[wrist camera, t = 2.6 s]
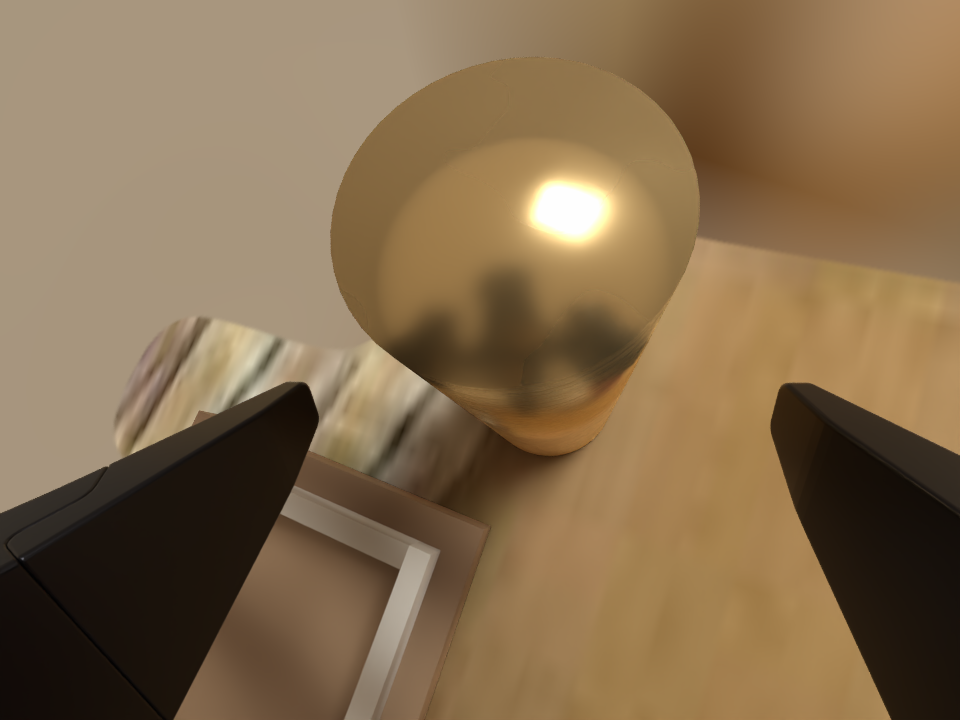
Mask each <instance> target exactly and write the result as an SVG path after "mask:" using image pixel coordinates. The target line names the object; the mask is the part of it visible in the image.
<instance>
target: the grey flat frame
mask: <svg viewBox="0 0 960 720" xmlns="http://www.w3.org/2000/svg"><path fill="white" fill-rule="evenodd" d="M214 415H217V414H213V413H208V412H204V411H199V412H198V414H197V416H196V418H195V420H194V422H193V424H192V426H193V425H195V424H197V423H200V422H202V421H204V420H206V419H208V418H210V417H212V416H214ZM490 528H491V526H489V525H486V524H484V523H482V522H479V521H477V520H474V519H472V518H470V517H467V516H465V515H462V514H460V513H458V512H455V511H453V510H450V509H448V508H445V507H443V506H441V505H438V504H436V503H433V502H431V501H429V500H426V499H424V498H421V497H419V496H417V495H414V494H412V493H409V492H407V491H404V490H402V489H400V488H397V487H395V486H392V485H390V484H388V483H385V482H383V481H380V480H378V479H376V478H373V477H371V476H368V475H366V474H363V473H361V472H359V471H356V470H354V469H351V468H349V467H347V466H344V465H342V464H339V463H337V462H335V461H332V460H330V459H327V458H325V457H323V456H320V455H318V454H315V453H313V452H310V451H308V452H307V455H306V457H305V460H304V462H303V465H302V467H301V470H300V473H299V475H298V478H297V480H296V482H295V485H294V487H293V489H292V491H291V493H290V495H289V497H288V499H287V501H286V503H285V505H284V507H283V509H282V511H281V513H280V515H279V517H278V518H277V520H276V522H275V524H274V526H273V528H272V530H271V532H270V534H269V536H268V538H267V540H266V542H265V544H264V546H263V548H262V549H261V551H260V553H259V555H258V557H257V559H256V561H255V563H254V565H253V567H252V569H251V571H250V573H249V575H248V577H247V579H246V581H245V582H244V584H243V586H242V588H241V590H240V592H239V594H238V596H237V598H236V600H235V602H234V604H233V606H232V608H231V610H230V612H229V613H228V615H227V617H226V619H225V621H224V623H223V625H222V627H221V629H220V631H219V633H218V635H217V637H216V639H215V641H214V643H213V644H212V646H211V648H210V650H209V652H208V654H207V656H206V658H205V660H204V662H203V664H202V666H201V668H200V670H199V672H198V674H197V675H196V677H195V679H194V681H193V683H192V685H191V687H190V689H189V691H188V693H187V695H186V697H185V699H184V701H183V703H182V705H181V707H180V708H179V710H178V712H177V714H176V716H175V718H174V720H425V717H426V714H427V711H428V708H429V705H430V702H431V700H432V697H433V694H434V691H435V688H436V685H437V682H438V679H439V676H440V673H441V670H442V668H443V665H444V662H445V659H446V656H447V653H448V650H449V647H450V644H451V641H452V638H453V636H454V633H455V630H456V627H457V624H458V621H459V618H460V615H461V612H462V609H463V607H464V604H465V601H466V598H467V595H468V592H469V589H470V586H471V583H472V580H473V577H474V575H475V572H476V569H477V566H478V563H479V560H480V557H481V554H482V551H483V548H484V545H485V543H486V540H487V537H488V534H489V531H490Z"/></svg>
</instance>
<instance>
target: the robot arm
mask: <svg viewBox="0 0 960 720" xmlns="http://www.w3.org/2000/svg"><path fill="white" fill-rule="evenodd" d="M318 422H319V415H318V411H317V408H316V405H315V402H314V399H313V396H312V393H311V391H310V388H309V386H308V385H307V384H306V383H304V382H285V383H283V384H281V385H279V386H277V387H274V388H272V389H270V390H268V391H266V392H264V393H262V394H259V395H257V396H255V397H253V398H251V399H249V400H247V401H244V402H242V403H240V404H238V405H236V406H234V407H232V408H229V409H227V410H225V411H223V412H221V413H219V414H217V415H214V416H212V417H210V418H208V419H206V420H204V421H202V422H200V423H197V424H195V425H193V426H191V427H189V428H187V429H185V430H182V431H180V432H178V433H176V434H174V435H172V436H170V437H167V438H165V439H163V440H161V441H159V442H157V443H155V444H152V445H150V446H148V447H146V448H144V449H142V450H140V451H137V452H135V453H133V454H131V455H129V456H127V457H125V458H123V459H120V460H118V461H116V462H114V463H112V464H110V465H109V467H103V468H101V469H99V470H97V471H95V472H93V473H90V474H88V475H86V476H84V477H82V478H79V479H77V480H75V481H73V482H71V483H68V484H66V485H64V486H62V487H60V488H58V489H55V490H53V491H51V492H49V493H46V494H44V495H42V496H40V497H37V498H35V499H33V500H30V501H28V502H26V503H23V504H21V505H19V506H17V507H14V508H12V509H10V510H7V511H5V512H2V513H0V720H174V718H175V716H176V714H177V712H178V710H179V708H180V707H181V705H182V703H183V701H184V699H185V697H186V695H187V693H188V691H189V689H190V687H191V685H192V683H193V681H194V679H195V677H196V675H197V674H198V672H199V670H200V668H201V666H202V664H203V662H204V660H205V658H206V656H207V654H208V652H209V650H210V648H211V646H212V644H213V643H214V641H215V639H216V637H217V635H218V633H219V631H220V629H221V627H222V625H223V623H224V621H225V619H226V617H227V615H228V613H229V612H230V610H231V608H232V606H233V604H234V602H235V600H236V598H237V596H238V594H239V592H240V590H241V588H242V586H243V584H244V582H245V581H246V579H247V577H248V575H249V573H250V571H251V569H252V567H253V565H254V563H255V561H256V559H257V557H258V555H259V553H260V551H261V549H262V548H263V546H264V544H265V542H266V540H267V538H268V536H269V534H270V532H271V530H272V528H273V526H274V524H275V522H276V520H277V518H278V517H279V515H280V513H281V511H282V509H283V507H284V505H285V503H286V501H287V499H288V497H289V495H290V493H291V491H292V489H293V487H294V485H295V482H296V480H297V478H298V475H299V473H300V470H301V467H302V465H303V462H304V460H305V457H306V455H307V452H308V449H309V447H310V444H311V442H312V439H313V437H314V434H315V431H316V429H317V426H318ZM770 427H771V435H772V438H773V441H774V444H775V447H776V451H777V454H778V457H779V460H780V463H781V466H782V470H783V473H784V476H785V479H786V482H787V486H788V489H789V492H790V495H791V498H792V501H793V504H794V507H795V510H796V512H797V514H798V517H799V519H800V521H801V524H802V526H803V528H804V530H805V533H806V535H807V537H808V539H809V541H810V543H811V546H812V548H813V550H814V552H815V554H816V557H817V559H818V561H819V563H820V565H821V567H822V570H823V572H824V574H825V576H826V578H827V581H828V583H829V585H830V587H831V589H832V591H833V594H834V596H835V598H836V600H837V602H838V605H839V607H840V609H841V611H842V613H843V615H844V618H845V620H846V622H847V624H848V626H849V628H850V631H851V633H852V635H853V637H854V639H855V642H856V644H857V646H858V648H859V650H860V652H861V655H862V657H863V659H864V661H865V663H866V666H867V668H868V670H869V672H870V674H871V676H872V679H873V681H874V683H875V685H876V687H877V690H878V692H879V694H880V696H881V698H882V700H883V703H884V705H885V707H886V709H887V711H888V714H889V716H890V718H891V720H960V455H958V454H956V453H954V452H952V451H950V450H948V449H946V448H943V447H941V446H939V445H937V444H935V443H933V442H931V441H929V440H927V439H925V438H923V437H921V436H919V435H917V434H915V433H913V432H910V431H908V430H906V429H904V428H902V427H900V426H898V425H896V424H894V423H892V422H890V421H888V420H886V419H884V418H882V417H879V416H877V415H875V414H873V413H871V412H869V411H867V410H865V409H863V408H861V407H859V406H857V405H855V404H853V403H851V402H849V401H846V400H844V399H842V398H840V397H838V396H836V395H834V394H832V393H830V392H828V391H826V390H824V389H822V388H820V387H818V386H816V385H813V384H811V383H785V384H783V385H782V386H781V387H780V389H779V392H778V395H777V399H776V403H775V407H774V411H773V415H772V419H771V425H770Z"/></svg>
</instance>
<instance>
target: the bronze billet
mask: <svg viewBox="0 0 960 720" xmlns="http://www.w3.org/2000/svg"><path fill="white" fill-rule="evenodd" d="M699 207H700V198H699V189H698V180H697V175H696V172H695V168H694V165H693V161H692V158H691V155H690V153H689V151H688V148H687V146H686V144H685V142H684V140H683V138H682V136H681V134H680V133H679V131H678V130H677V128H676V127H675V125H674V124H673V122H672V121H671V119H670V118H669V117H668V116H667V115H666V114H665V112H664V111H663V110H662V109H661V108H660V107H659V106H658V105H657V104H656V103H655V102H654V101H653V100H652V99H650V98H649V97H648V96H647V95H646V94H644V93H643V92H642V91H641V90H639V89H638V88H637V87H635V86H633V85H631V84H630V83H628V82H627V81H625V80H624V79H622V78H620V77H618V76H616V75H614V74H611V73H609V72H607V71H605V70H602V69H600V68H597V67H593V66H590V65H587V64H584V63H580V62H575V61H570V60H564V59H558V58H544V57H525V58H510V59H504V60H497V61H491V62H487V63H483V64H479V65H476V66H472V67H469V68H466V69H463V70H460V71H458V72H455V73H452V74H450V75H448V76H446V77H444V78H442V79H439V80H437V81H435V82H433V83H431V84H430V85H428V86H426V87H425V88H423V89H421V90H420V91H418V92H416V93H415V94H413V95H412V96H410V97H409V98H408V99H407V100H405V101H404V102H403V103H401V104H400V105H399V106H397V107H396V108H395V109H394V110H393V111H392V112H391V113H390V114H389V115H387V116H386V117H385V118H384V119H383V120H382V121H381V122H380V123H379V124H378V125H377V127H376V128H375V129H374V130H373V131H372V132H371V133H370V135H369V136H368V137H367V138H366V140H365V141H364V143H363V144H362V145H361V147H360V148H359V150H358V151H357V153H356V154H355V156H354V158H353V159H352V161H351V163H350V165H349V167H348V169H347V171H346V173H345V175H344V177H343V180H342V183H341V185H340V188H339V190H338V193H337V197H336V201H335V206H334V209H333V215H332V224H331V232H330V233H331V256H332V262H333V267H334V273H335V276H336V279H337V283H338V286H339V289H340V292H341V294H342V296H343V298H344V300H345V302H346V304H347V306H348V308H349V310H350V312H351V313H352V315H353V316H354V318H355V319H356V321H357V322H358V323H359V325H360V326H361V328H362V329H363V330H364V331H365V332H366V333H367V334H368V335H369V336H370V337H371V338H372V339H373V341H374V342H375V343H376V344H378V345H379V346H380V347H381V348H383V349H384V350H385V351H386V352H388V353H389V354H390V355H391V356H393V357H394V358H395V359H397V360H398V361H399V362H401V363H402V364H403V365H405V366H406V367H408V368H409V369H410V370H412V371H413V372H414V373H416V374H417V375H419V376H420V377H421V378H423V379H424V380H425V381H427V382H428V383H429V384H431V385H432V386H434V387H435V388H436V389H438V390H439V391H440V392H442V393H443V394H444V395H446V396H447V397H449V398H450V399H451V400H453V401H454V402H455V403H457V404H458V405H460V406H461V407H462V408H464V409H465V410H466V411H468V412H469V413H470V414H472V415H473V416H475V417H476V418H477V419H479V420H480V421H481V422H483V423H484V424H486V425H487V426H488V427H490V428H491V429H492V430H494V431H495V432H496V433H498V434H499V435H501V436H502V437H503V438H505V439H506V440H507V441H509V442H510V443H511V444H513V445H514V446H516V447H518V448H519V449H521V450H524V451H526V452H529V453H532V454H536V455H542V456H557V455H564V454H567V453H571V452H573V451H576V450H578V449H580V448H582V447H583V446H585V445H587V444H588V443H589V442H590V441H592V440H593V439H594V438H595V437H596V436H597V435H598V434H599V432H600V431H601V430H602V428H603V427H604V425H605V423H606V421H607V420H608V418H609V416H610V414H611V412H612V410H613V408H614V406H615V404H616V402H617V400H618V399H619V397H620V395H621V393H622V391H623V389H624V387H625V385H626V383H627V381H628V379H629V377H630V376H631V374H632V372H633V370H634V368H635V366H636V364H637V362H638V360H639V358H640V356H641V355H642V353H643V351H644V349H645V347H646V345H647V343H648V341H649V339H650V337H651V335H652V333H653V332H654V330H655V328H656V326H657V324H658V322H659V320H660V318H661V316H662V314H663V312H664V311H665V309H666V307H667V305H668V303H669V301H670V299H671V297H672V295H673V293H674V291H675V289H676V288H677V286H678V284H679V282H680V280H681V278H682V276H683V274H684V272H685V270H686V267H687V265H688V262H689V259H690V257H691V254H692V251H693V248H694V245H695V240H696V235H697V230H698V225H699Z"/></svg>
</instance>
